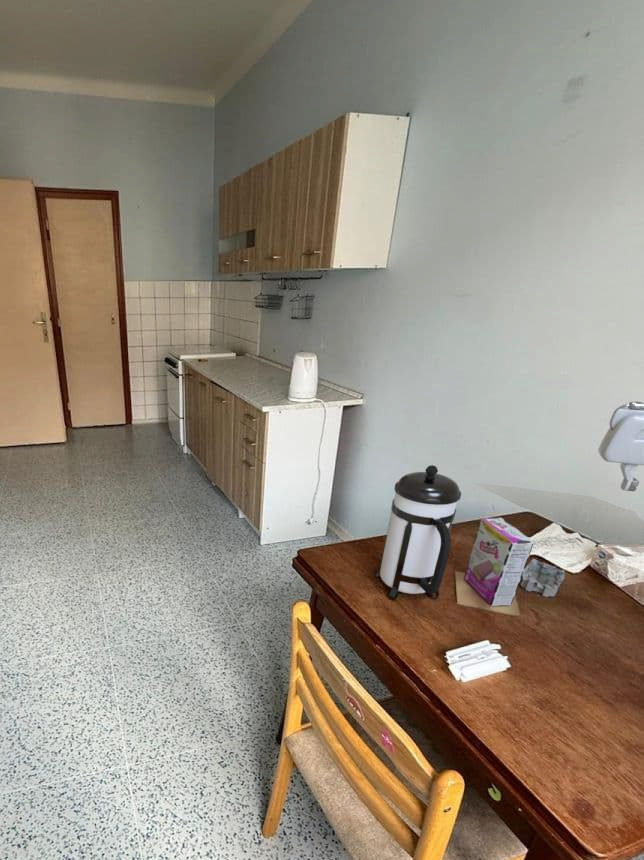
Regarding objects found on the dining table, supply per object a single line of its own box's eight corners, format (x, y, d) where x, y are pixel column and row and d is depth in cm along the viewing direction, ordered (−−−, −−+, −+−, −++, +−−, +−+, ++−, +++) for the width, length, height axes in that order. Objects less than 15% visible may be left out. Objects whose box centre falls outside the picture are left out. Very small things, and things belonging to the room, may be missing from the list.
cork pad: (511, 583, 111) (511, 581, 111) (519, 617, 100) (520, 615, 100) (454, 572, 116) (455, 571, 116) (456, 604, 105) (457, 602, 104)
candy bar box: (461, 579, 112) (479, 517, 105) (481, 578, 112) (501, 516, 105) (489, 607, 102) (512, 541, 95) (512, 606, 103) (536, 540, 95)
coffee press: (356, 587, 111) (377, 466, 97) (391, 563, 120) (415, 449, 106) (429, 621, 100) (465, 490, 85) (461, 591, 109) (499, 468, 95)
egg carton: (553, 600, 105) (559, 585, 103) (515, 587, 110) (520, 572, 108) (564, 581, 112) (570, 566, 110) (528, 569, 116) (533, 555, 114)
